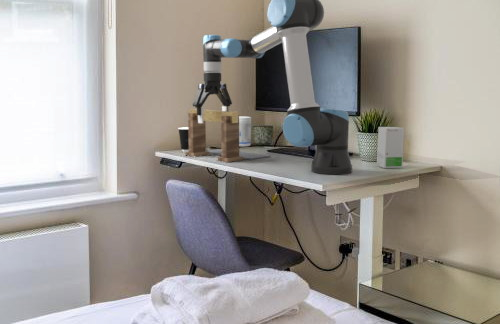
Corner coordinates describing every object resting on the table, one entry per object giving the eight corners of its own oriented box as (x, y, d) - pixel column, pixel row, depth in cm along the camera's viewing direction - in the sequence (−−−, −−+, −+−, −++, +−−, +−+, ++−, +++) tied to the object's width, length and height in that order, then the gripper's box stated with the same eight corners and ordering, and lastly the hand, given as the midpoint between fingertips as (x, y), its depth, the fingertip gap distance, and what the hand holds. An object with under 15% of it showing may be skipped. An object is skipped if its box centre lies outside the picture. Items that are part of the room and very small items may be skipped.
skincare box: (384, 168, 211) (385, 128, 208) (375, 166, 217) (377, 126, 215) (403, 167, 213) (405, 127, 211) (394, 165, 219) (396, 126, 217)
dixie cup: (190, 152, 256) (190, 128, 254) (175, 151, 258) (175, 128, 256) (198, 150, 263) (197, 127, 261) (183, 149, 266) (182, 126, 264)
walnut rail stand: (243, 160, 233) (243, 115, 230) (227, 162, 227) (227, 116, 224) (200, 153, 252) (200, 112, 250) (185, 155, 246) (184, 112, 243)
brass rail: (238, 122, 228) (238, 111, 228) (232, 123, 226) (232, 112, 225) (195, 118, 248) (195, 108, 247) (189, 119, 246) (189, 109, 245)
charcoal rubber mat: (270, 156, 241) (270, 155, 241) (250, 159, 233) (250, 158, 233) (221, 150, 264) (221, 148, 264) (202, 152, 256) (202, 151, 256)
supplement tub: (228, 146, 278) (228, 117, 276) (237, 144, 286) (237, 115, 284) (245, 147, 274) (245, 117, 271) (254, 145, 282) (254, 116, 280)
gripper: (228, 72, 245) (228, 120, 248) (183, 72, 228) (184, 123, 231) (239, 72, 240) (240, 120, 243) (195, 72, 222) (195, 124, 226)
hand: (213, 122), depth 237 cm, fingers open, 13 cm apart
